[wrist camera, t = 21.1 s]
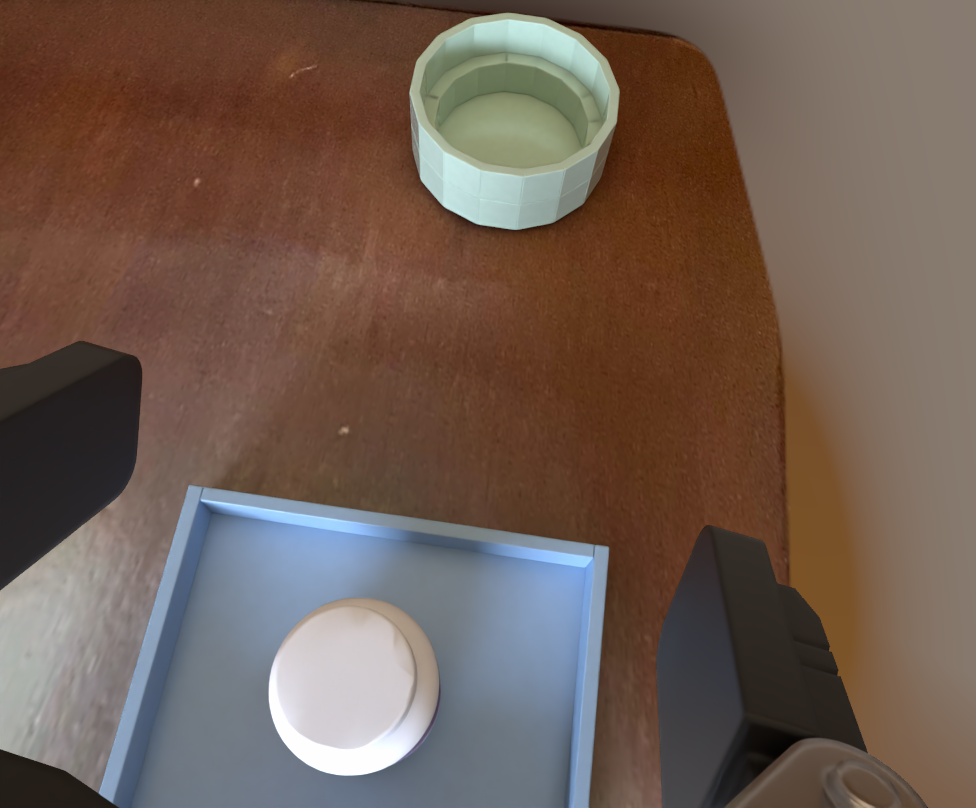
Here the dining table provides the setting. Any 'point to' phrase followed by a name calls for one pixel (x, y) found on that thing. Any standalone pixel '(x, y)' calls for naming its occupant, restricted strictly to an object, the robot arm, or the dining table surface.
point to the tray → (383, 576)
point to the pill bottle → (355, 687)
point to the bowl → (512, 119)
